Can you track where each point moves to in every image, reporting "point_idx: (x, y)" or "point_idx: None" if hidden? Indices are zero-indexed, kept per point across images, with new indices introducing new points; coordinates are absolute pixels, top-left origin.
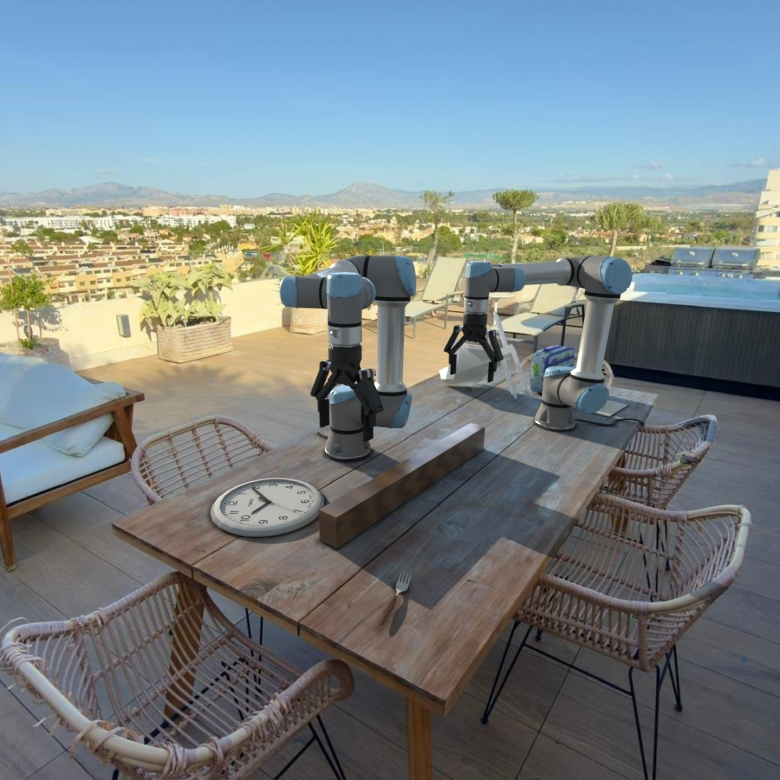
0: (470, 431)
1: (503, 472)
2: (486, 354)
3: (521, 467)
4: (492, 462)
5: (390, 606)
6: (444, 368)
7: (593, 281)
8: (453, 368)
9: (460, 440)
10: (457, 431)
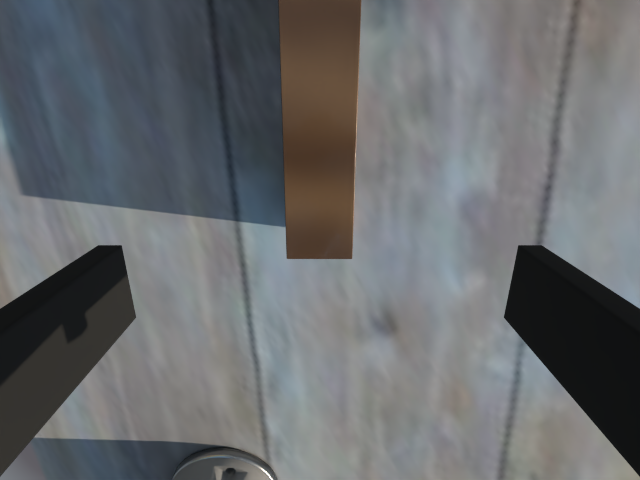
0: (306, 176)
1: (152, 106)
2: None
3: (134, 178)
4: (219, 153)
5: None
6: None
7: None
8: (550, 300)
9: (287, 53)
10: (349, 140)
